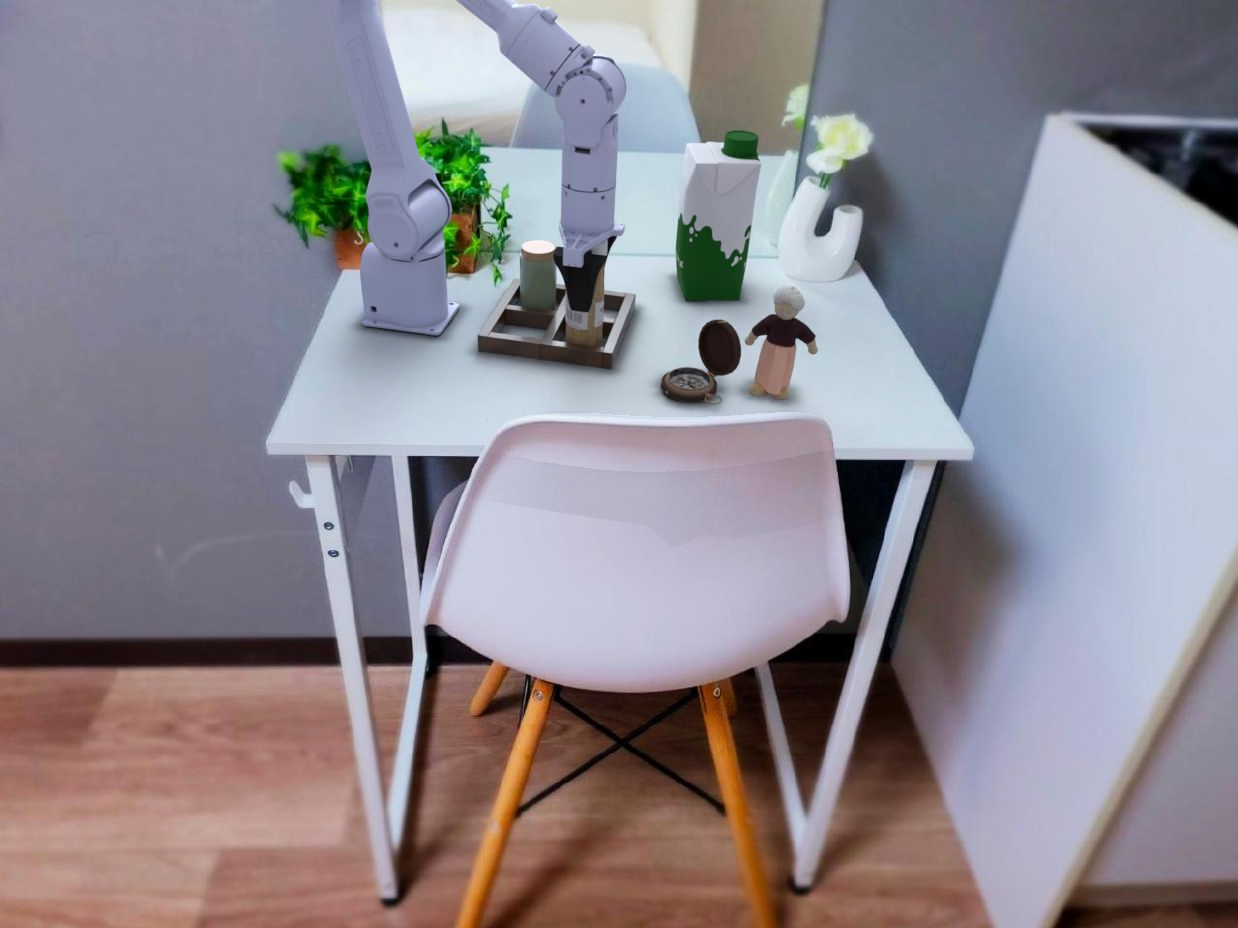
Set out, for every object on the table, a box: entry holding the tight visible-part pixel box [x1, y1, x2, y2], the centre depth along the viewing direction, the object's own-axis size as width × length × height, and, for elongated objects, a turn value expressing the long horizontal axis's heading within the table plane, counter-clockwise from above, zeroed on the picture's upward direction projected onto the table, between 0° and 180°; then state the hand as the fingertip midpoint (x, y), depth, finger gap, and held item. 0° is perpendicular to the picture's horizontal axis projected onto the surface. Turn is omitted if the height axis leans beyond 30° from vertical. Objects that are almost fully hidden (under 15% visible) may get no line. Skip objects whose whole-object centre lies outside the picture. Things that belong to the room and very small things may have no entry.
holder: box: [477, 278, 637, 370], centre depth 117 cm, size 16×16×2 cm
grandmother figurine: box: [744, 285, 819, 400], centre depth 104 cm, size 8×4×13 cm, turn 87°
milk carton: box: [675, 130, 762, 301], centre depth 123 cm, size 9×9×20 cm
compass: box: [660, 318, 742, 405], centre depth 105 cm, size 8×8×7 cm
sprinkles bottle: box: [564, 239, 608, 347], centre depth 110 cm, size 5×5×14 cm
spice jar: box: [519, 239, 558, 311], centre depth 119 cm, size 4×4×8 cm
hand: (584, 300), depth 111 cm, fingers closed on sprinkles bottle, 4 cm apart
